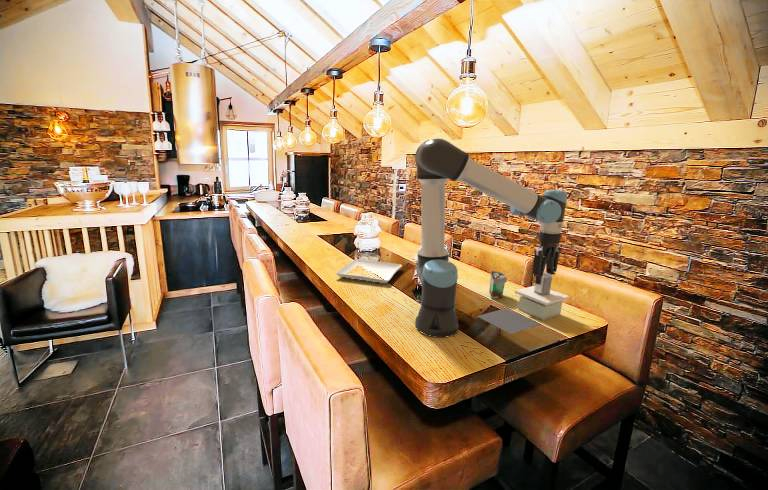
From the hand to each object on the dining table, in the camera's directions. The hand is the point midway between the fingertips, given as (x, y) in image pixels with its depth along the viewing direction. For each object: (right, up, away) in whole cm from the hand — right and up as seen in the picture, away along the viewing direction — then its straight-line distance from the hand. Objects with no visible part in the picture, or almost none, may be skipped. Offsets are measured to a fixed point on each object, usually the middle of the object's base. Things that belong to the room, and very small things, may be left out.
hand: (542, 290), depth 138 cm
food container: (-12, -5, +18) cm, 22 cm away
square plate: (-69, +2, +43) cm, 81 cm away
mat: (-15, -11, -6) cm, 20 cm away
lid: (0, -2, +1) cm, 2 cm away
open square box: (0, -9, +2) cm, 10 cm away
